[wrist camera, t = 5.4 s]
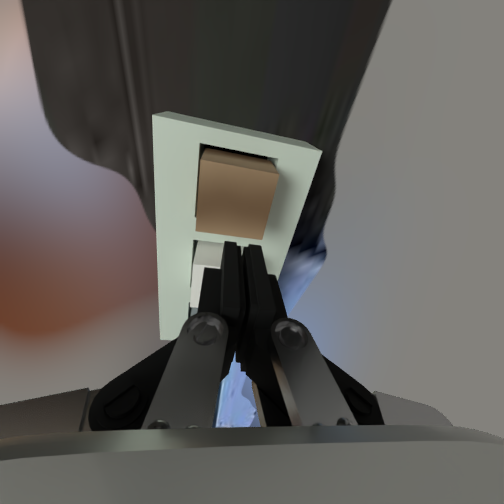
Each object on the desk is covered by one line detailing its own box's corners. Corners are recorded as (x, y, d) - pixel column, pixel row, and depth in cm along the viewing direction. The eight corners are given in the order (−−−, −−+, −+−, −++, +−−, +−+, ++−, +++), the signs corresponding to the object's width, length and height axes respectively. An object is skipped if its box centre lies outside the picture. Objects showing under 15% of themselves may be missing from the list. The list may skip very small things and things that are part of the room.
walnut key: (206, 147, 17) (200, 159, 14) (270, 160, 18) (279, 174, 15) (200, 209, 20) (195, 231, 16) (256, 217, 20) (262, 240, 17)
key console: (167, 111, 18) (152, 114, 15) (305, 141, 21) (322, 151, 17) (168, 311, 31) (160, 339, 28) (252, 316, 33) (255, 344, 30)
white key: (198, 238, 21) (193, 264, 18) (250, 245, 22) (254, 270, 19) (195, 279, 24) (189, 307, 21) (241, 283, 25) (243, 311, 22)
